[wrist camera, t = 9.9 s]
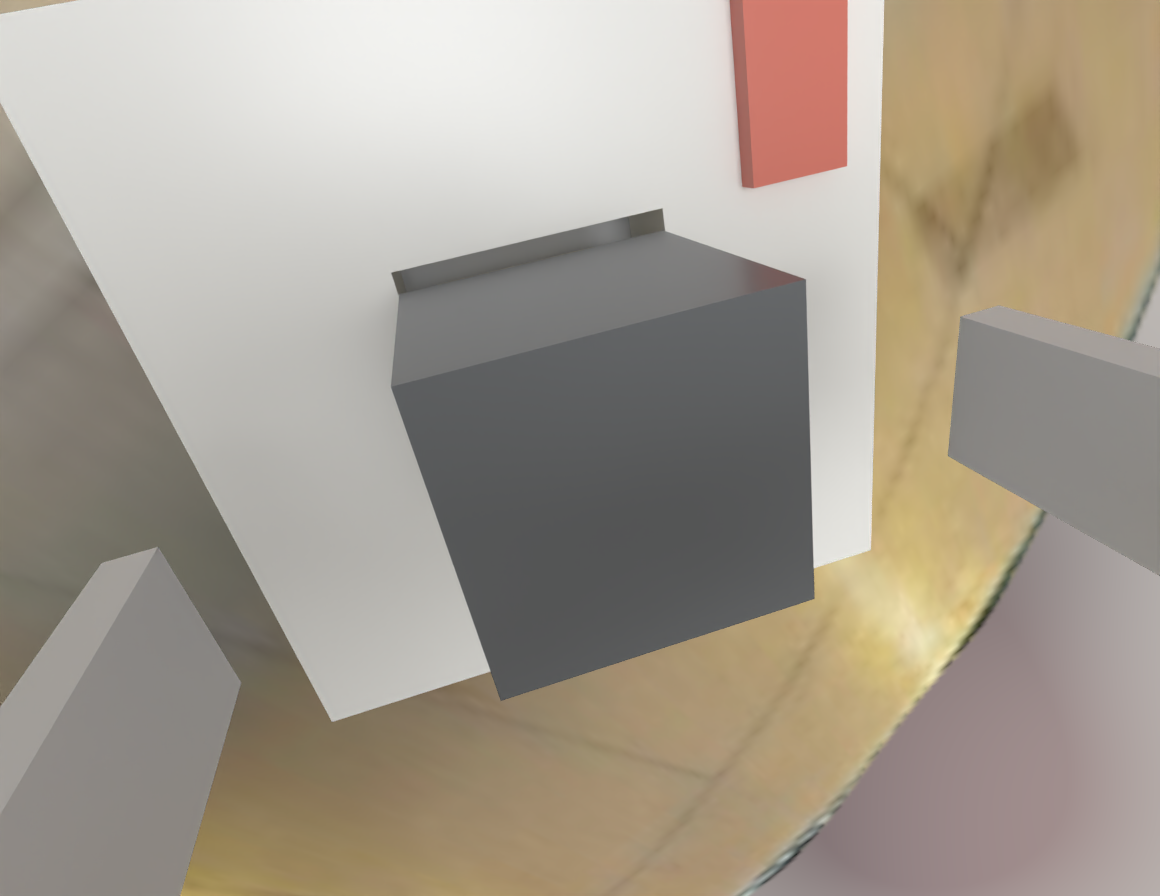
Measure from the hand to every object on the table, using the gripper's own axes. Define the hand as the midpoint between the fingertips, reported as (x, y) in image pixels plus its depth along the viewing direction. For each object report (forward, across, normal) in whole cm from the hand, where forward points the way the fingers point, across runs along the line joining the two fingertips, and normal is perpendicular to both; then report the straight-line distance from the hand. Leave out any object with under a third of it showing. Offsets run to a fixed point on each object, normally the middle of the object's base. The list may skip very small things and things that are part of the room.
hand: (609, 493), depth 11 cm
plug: (+9, 0, 0) cm, 10 cm away
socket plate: (+10, +1, 0) cm, 10 cm away
